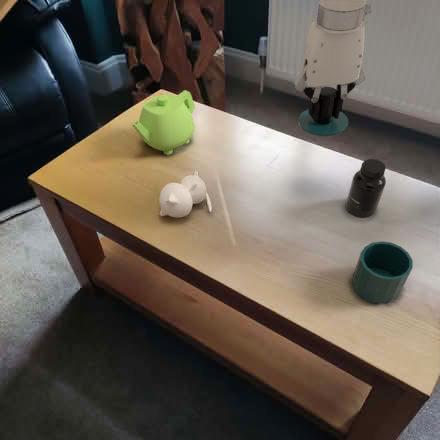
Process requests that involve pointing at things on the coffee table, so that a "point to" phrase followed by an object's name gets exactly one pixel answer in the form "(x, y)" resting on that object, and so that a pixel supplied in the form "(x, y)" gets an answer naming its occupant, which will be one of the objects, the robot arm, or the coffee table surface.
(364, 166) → the supplement bottle
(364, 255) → the tin
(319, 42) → the robot arm
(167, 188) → the cat figurine
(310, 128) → the lid
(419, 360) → the coffee table surface
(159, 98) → the teapot
